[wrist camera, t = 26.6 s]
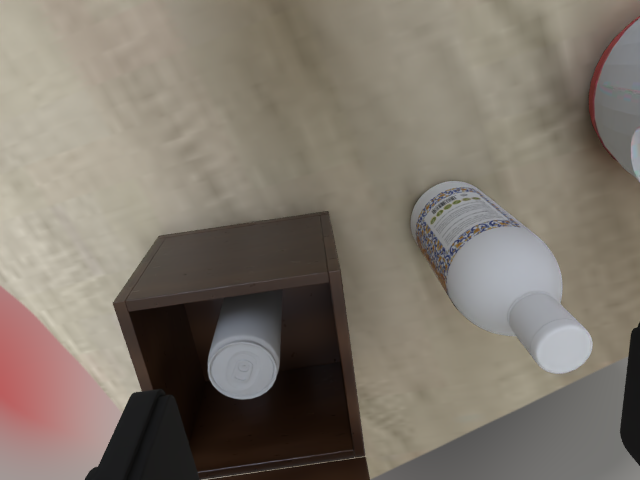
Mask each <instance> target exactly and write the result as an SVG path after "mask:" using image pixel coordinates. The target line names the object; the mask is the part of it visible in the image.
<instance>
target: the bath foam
mask: <svg viewBox="0 0 640 480" xmlns="http://www.w3.org/2000/svg"><path fill="white" fill-rule="evenodd" d="M411 231H412V235H413V237H414V240H415V241H416V243H417V245H418V246H419V248H420V250H421V252H422V253H423V255H424V257H425V258H426V260H427V262H428V263H429V265H430V267H431V268H432V270H433V271H434V273H435V275H436V276H437V278H438V280H439V281H440V283H441V285H442V286H443V288H444V290H445V291H446V293H447V295H448V296H449V298H450V299H451V301H452V303H453V304H454V306H455V307H456V308H457V309H458V310H459V311H460V312H461V314H463V315H464V316H465V317H466V318H467V319H468V320H469V321H471V322H472V323H473V324H475V325H476V326H478V327H480V328H482V329H484V330H486V331H489V332H492V333H495V334H500V335H506V336H517V338H518V339H519V340H520V342H521V343H522V344H523V346H524V347H525V348H526V349H527V351H528V352H529V353H530V355H531V356H532V357H533V359H534V360H535V362H536V363H537V364H538V365H539V366H540V367H541V368H542V369H544V370H545V371H547V372H550V373H555V374H561V373H567V372H570V371H573V370H575V369H577V368H578V367H580V366H581V365H582V364H583V363H584V362H585V361H586V360H587V359H588V357H589V355H590V353H591V351H592V338H591V336H590V334H589V332H588V331H587V330H586V329H585V328H584V327H583V326H582V325H581V324H580V323H579V322H578V321H577V320H576V319H575V318H574V317H573V316H572V315H571V314H570V313H569V312H568V311H567V310H566V309H565V308H564V307H563V306H562V305H561V304H560V303H561V298H562V276H561V271H560V268H559V265H558V263H557V261H556V259H555V257H554V255H553V253H552V252H551V250H550V249H549V248H548V246H547V245H546V244H545V243H544V242H543V241H542V240H541V239H540V238H539V237H538V236H537V235H535V234H534V233H533V232H532V231H530V230H529V229H528V228H527V227H526V226H524V225H523V224H522V223H521V222H519V221H518V220H517V219H516V218H514V217H513V216H512V215H511V214H509V213H508V212H507V211H506V210H504V209H503V208H502V207H501V206H499V205H498V204H497V203H496V202H494V201H493V200H492V199H491V198H489V197H488V196H487V195H486V194H484V193H483V192H482V191H481V190H479V189H478V188H476V187H475V186H473V185H471V184H469V183H466V182H461V181H448V182H443V183H440V184H438V185H435V186H433V187H432V188H430V189H429V190H427V191H426V192H425V193H424V194H423V195H422V196H421V197H420V198H419V200H418V201H417V203H416V204H415V206H414V208H413V211H412V215H411Z"/></svg>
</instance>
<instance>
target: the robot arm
mask: <svg viewBox="0 0 640 480" xmlns="http://www.w3.org/2000/svg"><path fill="white" fill-rule="evenodd" d="M620 434H621V439H622V442H623V444H624V446H625V448H626V449H627V451H628V452H629V453H630V455H631V456H632V457H633V458H634V459H635V461H636V462H637V463H638V464H639V466H640V323H639V324H638V327H637V328H634V329H633V331H632V333H631V340H630V348H629V357H628V366H627V375H626V384H625V393H624V401H623V410H622V419H621V428H620ZM85 480H200V478H199V475H198V472H197V469H196V465H195V462H194V459H193V456H192V452H191V449H190V446H189V442H188V439H187V436H186V433H185V429H184V426H183V423H182V419H181V416H180V413H179V410H178V406H177V403H176V400H175V397H174V396H173V395H166V394H165V392H164V391H163V390H162V389H157V390H150V391H143V392H136V393H133V394H132V395H131V396H130V398H129V400H128V403H127V405H126V407H125V409H124V411H123V413H122V416H121V418H120V420H119V423H118V424H117V427H116V429H115V431H114V434H113V435H112V438H111V440H110V442H109V444H108V447H107V449H106V451H105V453H104V455H103V457H102V459H101V462H100V464H99V466H98V467H95V468H93V469H92V470H91V471H90V472H89V473H88V475H87V476H86V478H85Z"/></svg>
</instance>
